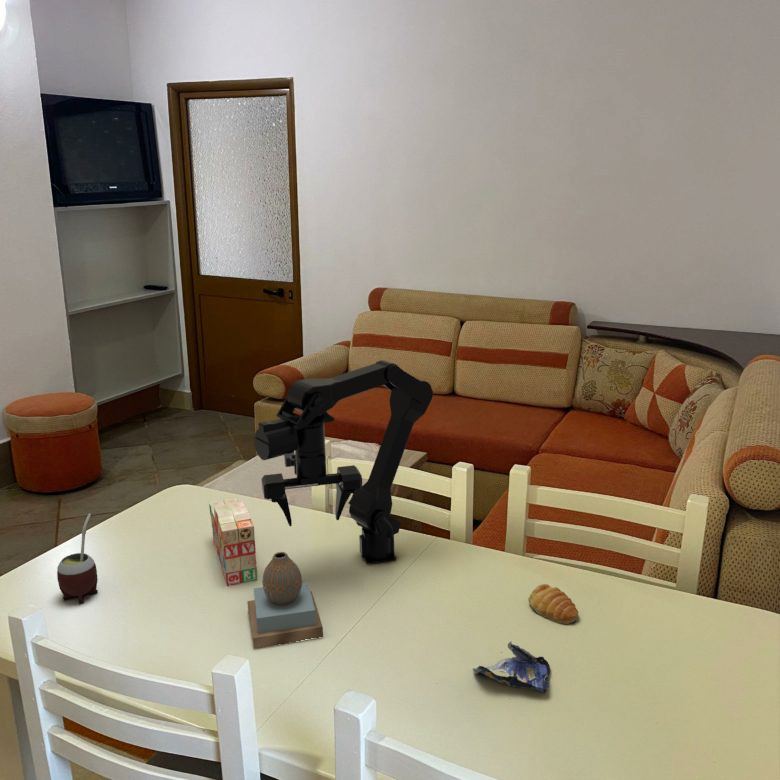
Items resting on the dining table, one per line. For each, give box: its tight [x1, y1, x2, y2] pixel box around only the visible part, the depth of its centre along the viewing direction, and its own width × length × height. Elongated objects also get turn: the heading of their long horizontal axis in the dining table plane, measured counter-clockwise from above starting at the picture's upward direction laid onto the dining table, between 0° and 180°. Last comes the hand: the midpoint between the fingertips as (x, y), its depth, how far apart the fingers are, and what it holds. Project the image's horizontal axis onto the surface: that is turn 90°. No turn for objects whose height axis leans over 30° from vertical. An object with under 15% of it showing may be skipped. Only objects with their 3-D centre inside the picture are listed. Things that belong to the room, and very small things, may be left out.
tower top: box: [253, 580, 316, 634], centre depth 136 cm, size 10×10×3 cm
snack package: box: [472, 641, 551, 694], centre depth 121 cm, size 12×6×12 cm
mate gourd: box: [56, 513, 99, 606], centre depth 146 cm, size 8×8×15 cm
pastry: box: [528, 583, 579, 625], centre depth 139 cm, size 9×7×4 cm
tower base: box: [246, 590, 324, 650], centre depth 137 cm, size 12×12×3 cm
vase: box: [262, 551, 303, 605], centre depth 135 cm, size 7×7×9 cm
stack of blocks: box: [208, 497, 258, 587], centre depth 159 cm, size 21×6×12 cm, turn 20°
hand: (313, 522), depth 149 cm, fingers open, 9 cm apart
